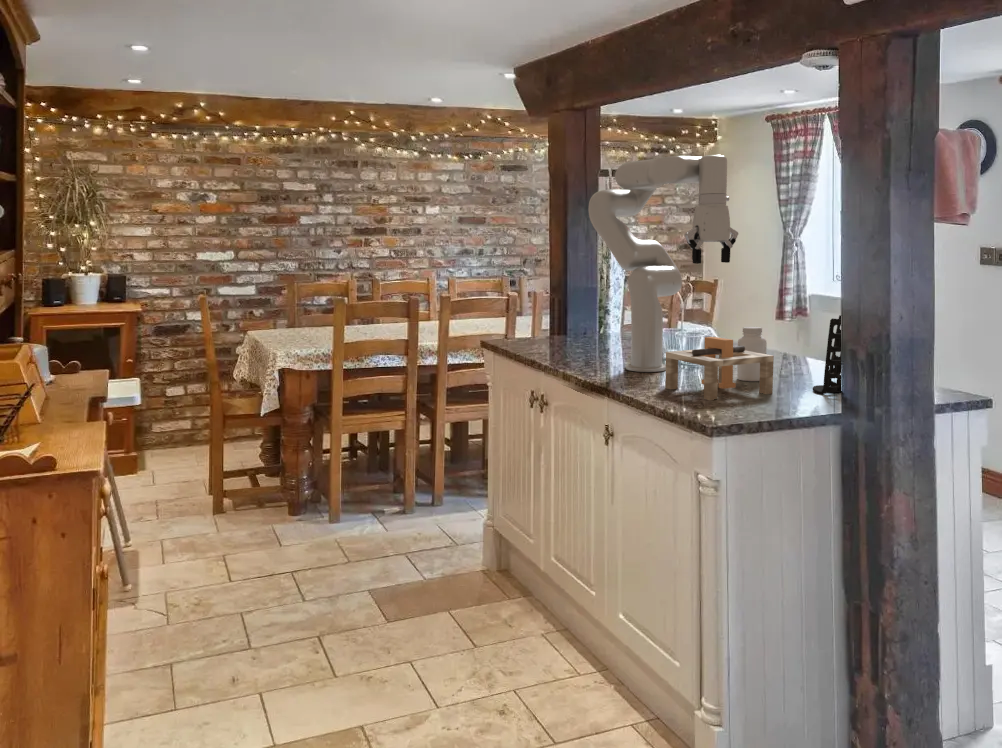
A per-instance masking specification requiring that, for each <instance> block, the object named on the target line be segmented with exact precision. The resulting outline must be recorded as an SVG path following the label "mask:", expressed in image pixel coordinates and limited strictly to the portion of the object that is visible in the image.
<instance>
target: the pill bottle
mask: <svg viewBox="0 0 1002 748" xmlns="http://www.w3.org/2000/svg"><path fill="white" fill-rule="evenodd" d="M742 335H743V336H741V337H739V338H738V340H737V346H744V347H745V351H751V352H756V353H762V354H767V340H766V338H765V337H764V336H762V335H763V327H761V326H744V327H742ZM736 366H737V368H736V371H737V372H736V373H737V374H736V376H737V379H738V380H739V381H743V382H760V363H751V364H740V365H736Z"/></svg>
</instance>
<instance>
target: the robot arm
mask: <svg viewBox="0 0 1002 748" xmlns="http://www.w3.org/2000/svg"><path fill="white" fill-rule="evenodd" d="M614 177H615V178H614V179H615V181H616V185H618V186H619V187H620V188H622V189H618V188H617V189H616V188H610V189H608V188H607V189H601V190H599V191H596V192H595V193H594V194H592V196H591V197H590V199H589V203H588V216H589V220H590V223H591V225H592V227H593V228H594V230H595V232H596V233H598V235H599V236H600V237H601V238H602V240H603V241H604V242H605V244H606V246H607V248H608V249H609V251H610V252H611V254H612V255H613V257H614V258H615V260H616V262H617V264H618V265H619V266H620V268H622V270H624V271H626V272H627V271H628V272H630V274H629V276H628V278H627V280H628V281H627V285H628V287H627V288H628V291H629V298H630V299H629V300H630V307H631V308H630V318H631V320H630V321H631V325H630V327H631V328H630V330H631V331H630V333H631V337H630V341H631V343H630V348H631V349H630V354H629V355H627V359H628V360H629V361H630V362H629V363H627V364H625V369H626V371H630V372H638V373H657V372H658V373H659V372H664V371H665V372H666V363H663V329H664V328H663V326H664V325H663V323H664V319H663V317H664V316H663V315H664V313H663V307H662V304H661V303H660V301H659V298H662V297H670V296H674V295H676V294H678V292H680V291H681V289H682V285H683V277H682V274H681V271H680V270H679V268H678V266H677V265H676V263H675V262H674V260H673V259H672V257H671V256H670V254H669V253H668V251H667V250H666V248H665V246H664V245H662V244H661V243H659V242H658V241H657V240H654V239H638V238H637V237H636V236H635V235H634V234H633V233H632V231H631V230H630V228H629V227H628V225H627V224H626V223H624V222H623V221H622V220H620V219H619V218H620V217H624V218H625V217H634V216H636V215H638V214H639V213H640V212H641V211H642V210H643V209H644V207H645V205H647V203H648V201H649V200H650V199H651V197H652V196H653V195H654V193H655V192H656V190H657V189H659V188H662V187H663V186H664V185H667V184H691V185H692V184H697V185H698V206H697V205H696V206H695V209H694V212H693V213H694V214H693V219H692V226H691V227H692V228H691V229H690V230H688V231H687V232H685V233H684V237H685V240H686V243H687V244H688V245H689V247H690V249H691V250H692V251H691V252H692V254H691V256H692V257H691V259H692V264H697V265H700V264H702V249H701V246H703V243H720V245H721V246H722V247H721V249H720V251H721V252H720V262H721V263H727V264H728V263H730V262H731V249H732V248H733V246H734V244H735V243H736V241H737V238H738V236H739V231H737V230H735V229H734V228H732V227H731V220H730V209H729V206H728V205H727V202H729V201H730V196H727V191H728V190H727V186H728V184H727V182H728V180H727V179H728V178H727V177H728V159H727V157H726V156H725V155H721V154H708V155H704V156H695V155H693V156H691V155H671V156H661V157H656V158H652V159H643V160H635V161H634V160H633V161H628V162H625V163H622V164H621V165H620V166H619V167H617V169H616V170H615V174H614Z"/></svg>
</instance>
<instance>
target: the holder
mask: <svg viewBox="0 0 1002 748" xmlns="http://www.w3.org/2000/svg"><path fill="white" fill-rule="evenodd" d="M841 316H842V315H841V314H840V315H839V316H838V318H831V319H830V321H829V328H828V336H827V345H826V356H825V363H824V364H825V365H824V373H823V385H819V384H817V385H814V386H813V387H812V391H813V392H814V393H816V394H819V395H821V396H822V395H825V394H827V393H837V394H841V393H840V392H841V375H842V372H841V330H842V329H841V326H842V325H841ZM835 326H836V330H835V329H834V328H835ZM834 330H835V332H834ZM833 340H834V342H833ZM836 353H840V355H839V356H838V355H837V354H836ZM832 379H836V381H833V380H832Z"/></svg>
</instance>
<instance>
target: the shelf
mask: <svg viewBox="0 0 1002 748" xmlns="http://www.w3.org/2000/svg"><path fill="white" fill-rule="evenodd" d="M711 354H716V356H718V358H710V357H705V355H711ZM679 361H681V362H685V363H689V364H694V365H698V366H704V367H703V368H704V372H703V373H704V374H703V379H704V384H703V399H704V400H707V401H713V400H714V399H717V400H718V389H719V383H722V366H729V365H733V366H737V365H740V364H751V363H760V381H759V388H758V389H759V391H758V393H759V394H762V393H763V395H770V394H773V392H774V391H773V389H774V388H773V387H774V355H771V354H767V353H766V354H762V353H756V352H751V351H745V347H744V346H738V345H736V346H733V357H726V358H722V349H717V348H710V349H705V348H697V349H686V350H674V351H665V365H666V370H665V379H664V380H665V381H664V382H665V385H664V387H665V389H666V390H677V389H679ZM714 401H715V400H714Z"/></svg>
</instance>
